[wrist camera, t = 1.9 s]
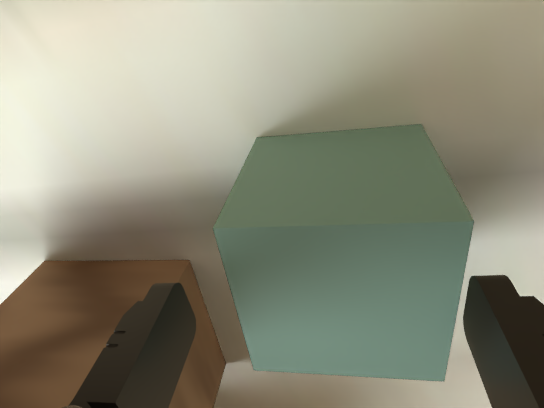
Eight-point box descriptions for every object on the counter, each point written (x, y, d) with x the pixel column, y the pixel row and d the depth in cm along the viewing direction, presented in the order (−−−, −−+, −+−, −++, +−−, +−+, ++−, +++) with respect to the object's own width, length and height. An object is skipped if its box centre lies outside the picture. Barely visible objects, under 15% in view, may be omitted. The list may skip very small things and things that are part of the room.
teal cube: (420, 123, 12) (474, 221, 7) (410, 252, 14) (444, 381, 10) (257, 136, 13) (212, 228, 8) (278, 254, 16) (254, 370, 11)
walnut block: (189, 258, 17) (92, 448, 10) (226, 362, 21) (174, 544, 14) (45, 259, 18) (-120, 423, 12) (106, 355, 23) (9, 515, 16)
